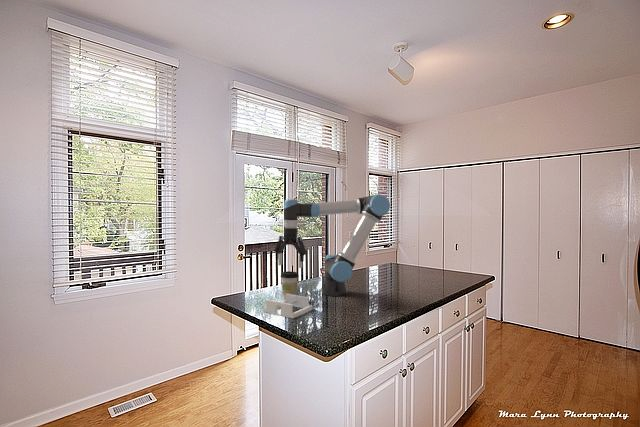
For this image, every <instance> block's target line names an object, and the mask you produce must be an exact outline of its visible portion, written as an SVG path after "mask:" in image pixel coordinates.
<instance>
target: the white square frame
mask: <svg viewBox="0 0 640 427" xmlns="http://www.w3.org/2000/svg"><path fill="white" fill-rule="evenodd" d="M279 307H281V309H280V316H281V317H285V318H289V319H296V318H298V317H300V316H302V315H304V314H306V313H309V312H310V311H312V310H314V305H312V304H309V306H308V307H306V308H300V309H299V310H297V311H293V310H294V309H293V308H294V306H293V304H288V303H285V300H281V301H278V300H272V299H266V300H265V307H264V308H263V309H264V310H263V312H265V313H267V314H272V315H277V314H278V308H279Z"/></svg>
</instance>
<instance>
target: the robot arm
mask: <svg viewBox="0 0 640 427" xmlns="http://www.w3.org/2000/svg"><path fill="white" fill-rule="evenodd" d="M283 203H284V204H283V235H280V236H278V241H277V244H276V245H275V248H274V253H276V256H277V258H276V259H277V260H278V261H277V265H278V266H282V265H283V253H282V252H283V251H284V249H285V248H286V247H287V246H288V245H290V246H293V247H294V248H295V250H296V251H297V253H298V254H299V255H298V263H297V264H298V265H297V266H298V267H297V268H298V269H301V268H303V262H304V261H305V260H304V258H305V255H307V254H308V253H307V250H306V247H305V244H304V242H303V237H302V236H300V237H299V236H298V222H299V221H298V218H318V217H319V216H328V215H339V214H340V215H343V214H351V213H352V214H355V213H357V214H358V215H362V216H360V218H359V219H360V220H359V221H358V223H356V224H357V225H356V226H355V228H354V230H353V231H352V233H351V235H350V237H349V238H348V240H347V242H346V244H345V245H344V247H343V249H342V251H339V252H337V254H326V256H325V260H324V261H325V262H324V263H325V265H324V266H325V268H324V270H325V271H324V282H323V286H322V288H321V293H322V295H325V296H330V297H343V296H346V295H347V294H348V288H347V285H346V282H347V281H348V280H350V278H352V276H353V269H354V267H355V265H356V258H357V257H358V255H359V253H360V251H361V250H362V248H363V246H364V245H365V242H366V241H367V240H368V238H369V236H370V234H371V232H372V230H373V229H374V227H375V225H376V224H377V223H380V222H381V220H382V219H383V216H385V215H386V214H387V213H388V212H389V211H390V208H391V203H390V200H389V198H388V197H387V196H385V195H382V194H378V193H377V194H374V195H373V194H372V195H369V196H363V197H356V198H355V199H350V200H340V201H339V200H338V201H324V202H323V201H322V202H311V203H310V202H309V203H299V200H298V199H285V200H284V202H283ZM345 294H346V295H345ZM342 295H343V296H342Z"/></svg>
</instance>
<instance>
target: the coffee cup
mask: <svg viewBox="0 0 640 427" xmlns="http://www.w3.org/2000/svg"><path fill="white" fill-rule="evenodd" d="M280 278H281V289H282V290H281V291H282V296H283V298H282V301H284V300H285V298H286V294H292V295H296V294H297V289H298V287H297V286H298V278H299V274H298V272H297V271H290V270H289V271H283V272H281V274H280Z"/></svg>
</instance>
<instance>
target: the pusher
mask: <svg viewBox="0 0 640 427" xmlns="http://www.w3.org/2000/svg"><path fill="white" fill-rule="evenodd" d="M285 303H288V304H293V308H294V307H295V308H299V309H303V308H306V307H308V306H309V305H310V297H307V296H303V295H296V294H295V295H292V294H286V298H285ZM277 310H281V307H278V308H277Z"/></svg>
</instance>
